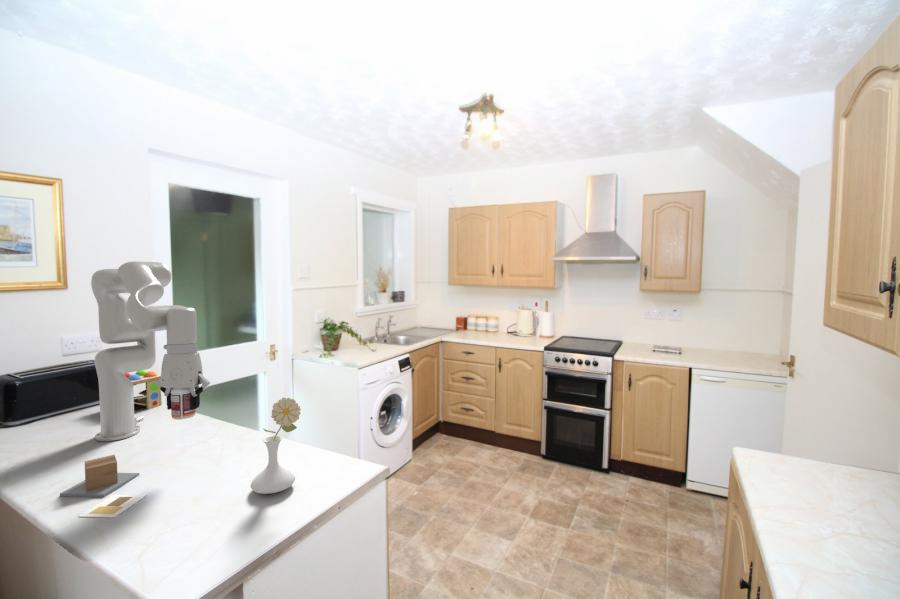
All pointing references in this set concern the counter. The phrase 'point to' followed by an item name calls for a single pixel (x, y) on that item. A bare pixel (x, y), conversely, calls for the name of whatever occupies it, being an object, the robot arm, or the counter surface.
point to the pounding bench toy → (147, 388)
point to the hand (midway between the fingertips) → (183, 407)
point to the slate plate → (81, 490)
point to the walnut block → (101, 472)
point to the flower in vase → (274, 474)
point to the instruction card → (112, 506)
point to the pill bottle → (181, 404)
